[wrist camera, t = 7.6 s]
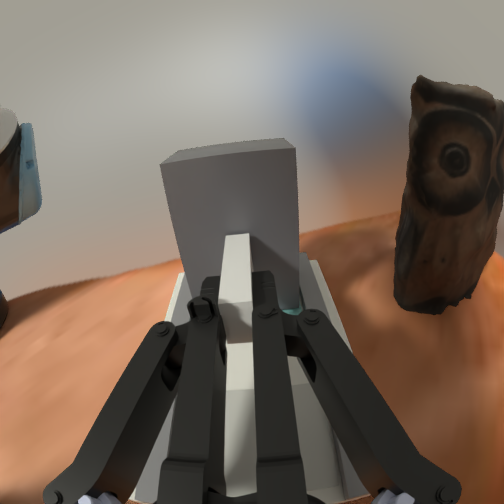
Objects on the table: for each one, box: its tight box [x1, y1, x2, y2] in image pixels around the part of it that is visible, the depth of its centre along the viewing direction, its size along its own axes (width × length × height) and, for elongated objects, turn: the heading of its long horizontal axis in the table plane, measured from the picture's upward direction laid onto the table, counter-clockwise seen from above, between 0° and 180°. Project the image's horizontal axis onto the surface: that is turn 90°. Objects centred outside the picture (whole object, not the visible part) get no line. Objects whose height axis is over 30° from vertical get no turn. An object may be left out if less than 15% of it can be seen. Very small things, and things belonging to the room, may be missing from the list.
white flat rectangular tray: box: [129, 252, 371, 504], centre depth 18 cm, size 22×14×3 cm, turn 2°
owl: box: [394, 75, 504, 315], centre depth 19 cm, size 13×13×20 cm
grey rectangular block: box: [160, 138, 299, 310], centre depth 20 cm, size 5×8×12 cm, turn 92°
